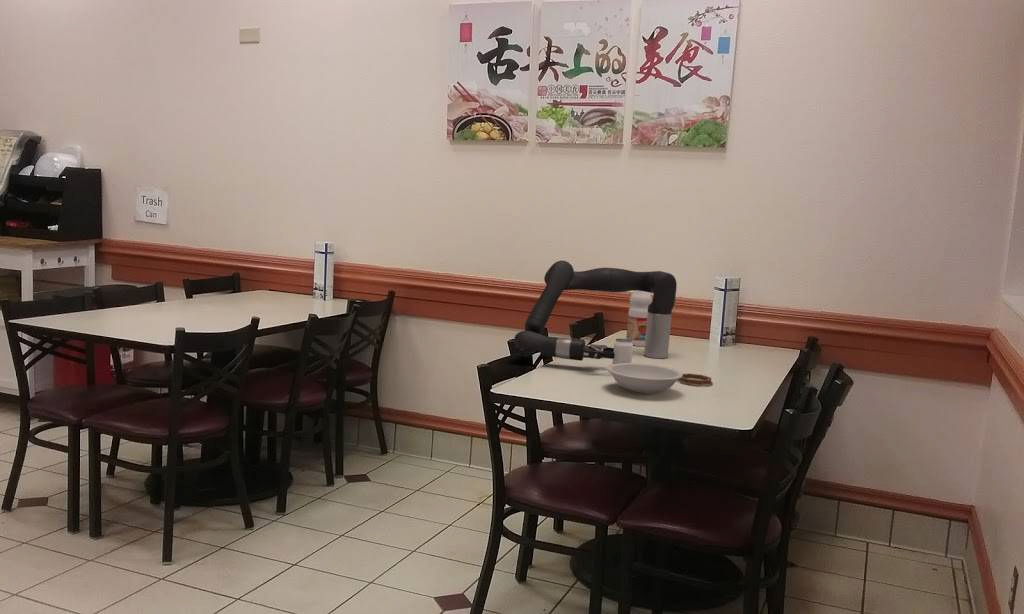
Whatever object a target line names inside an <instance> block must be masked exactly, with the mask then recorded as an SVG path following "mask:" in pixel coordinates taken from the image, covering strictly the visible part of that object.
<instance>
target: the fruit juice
mask: <svg viewBox="0 0 1024 614" xmlns="http://www.w3.org/2000/svg"><path fill="white" fill-rule="evenodd" d="M652 301H653V296H652V295H651V293H650V292H645V291H637V290H633V292H632V293H631V295H630V297H629V304H630V306H629V309H628V312H627V313H628V314H627V324H626V326H627V327H626V338H625V339H629V340H632V344H633V345H635V346H634V347H645V337H646V326H647V314H648V306H649V304H651V303H652Z"/></svg>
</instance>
